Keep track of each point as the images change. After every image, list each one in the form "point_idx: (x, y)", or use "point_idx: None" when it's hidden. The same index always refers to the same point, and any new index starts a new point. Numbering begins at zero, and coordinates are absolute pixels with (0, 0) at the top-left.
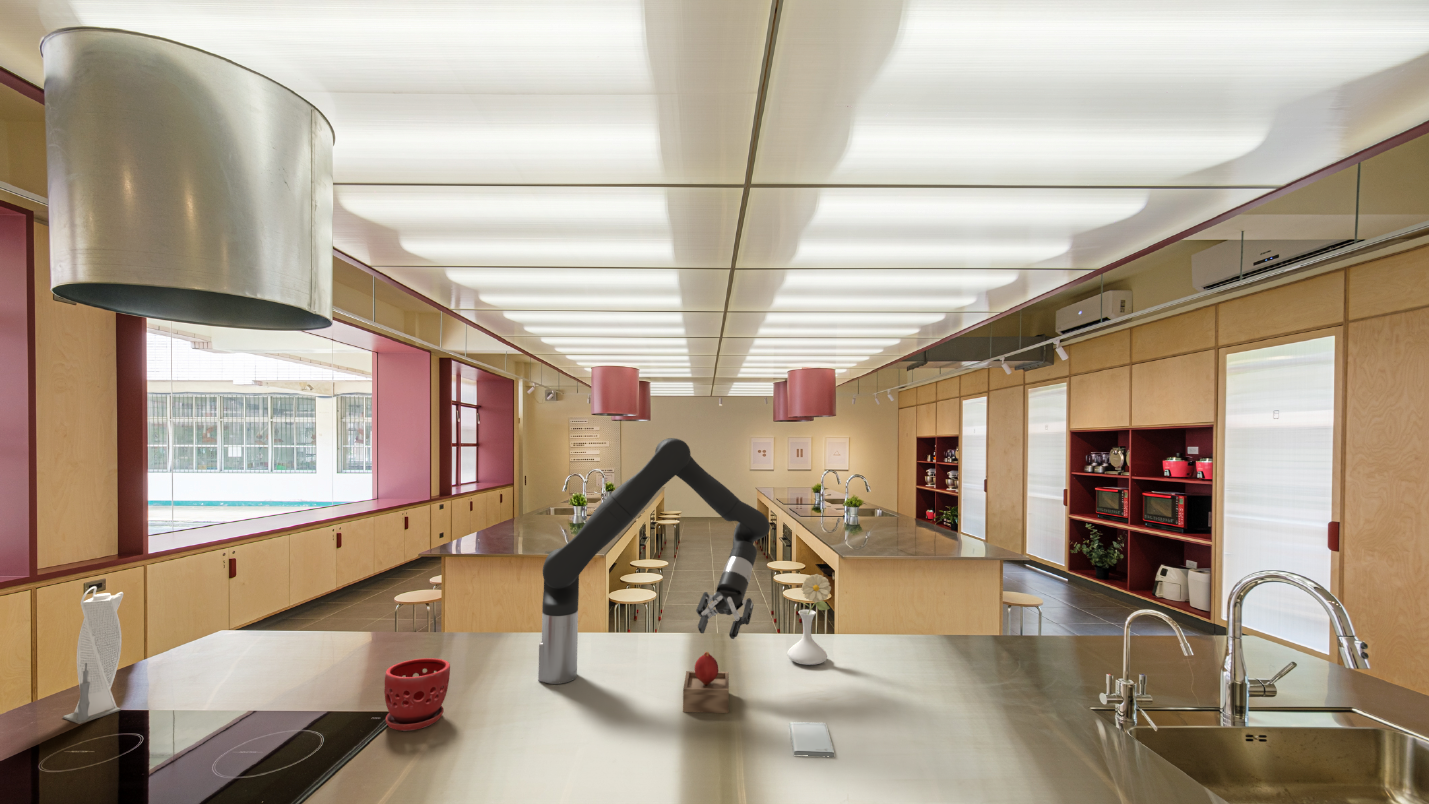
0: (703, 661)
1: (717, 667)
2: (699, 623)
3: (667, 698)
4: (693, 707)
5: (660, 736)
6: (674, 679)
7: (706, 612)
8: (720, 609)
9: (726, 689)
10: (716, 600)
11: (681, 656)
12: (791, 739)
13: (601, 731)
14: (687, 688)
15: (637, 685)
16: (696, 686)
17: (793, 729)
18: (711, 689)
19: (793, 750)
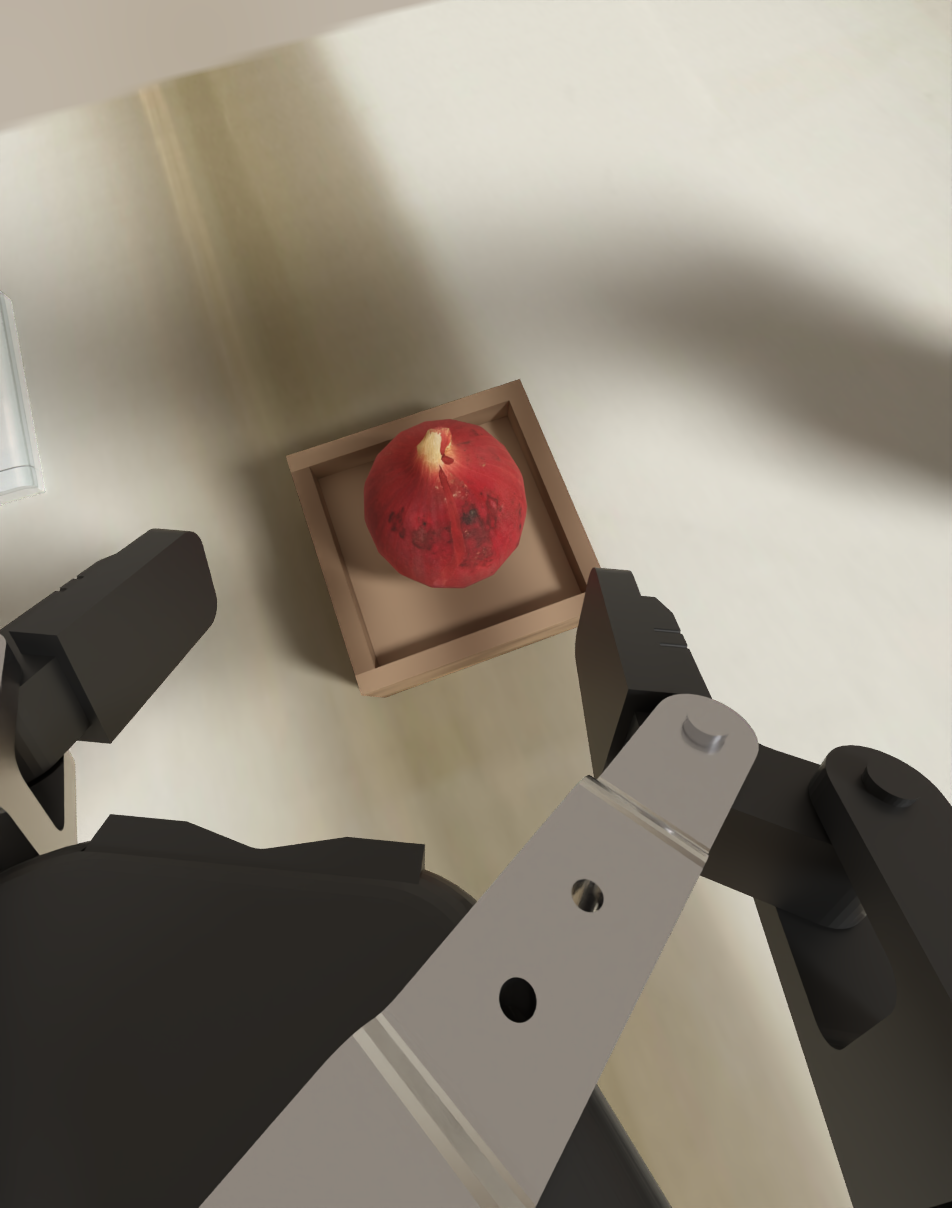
0: (443, 423)
1: (364, 504)
2: (669, 632)
3: (638, 532)
4: None
5: (506, 252)
6: None
7: (653, 742)
8: (324, 846)
9: (299, 457)
10: (489, 1138)
11: None
12: (22, 384)
13: (720, 211)
14: (502, 392)
15: (849, 605)
16: None
17: (6, 427)
18: (376, 427)
19: (2, 302)
